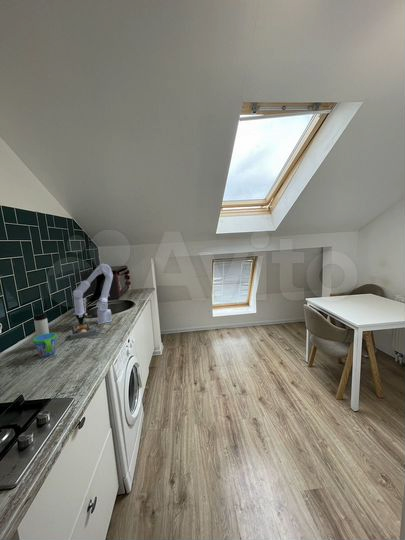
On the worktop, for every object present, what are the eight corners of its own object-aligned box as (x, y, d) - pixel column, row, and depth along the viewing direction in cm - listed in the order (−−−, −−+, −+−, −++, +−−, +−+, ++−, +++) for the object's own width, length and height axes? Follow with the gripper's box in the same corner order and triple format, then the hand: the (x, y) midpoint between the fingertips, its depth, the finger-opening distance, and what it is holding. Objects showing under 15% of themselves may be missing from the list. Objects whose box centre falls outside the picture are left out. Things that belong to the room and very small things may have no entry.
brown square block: (86, 328, 159) (86, 324, 159) (87, 331, 154) (87, 326, 154) (77, 330, 156) (76, 326, 156) (77, 333, 151) (77, 328, 151)
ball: (87, 336, 149) (86, 330, 151) (87, 332, 146) (86, 327, 149) (80, 337, 147) (79, 332, 149) (80, 334, 144) (79, 329, 147)
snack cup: (34, 352, 127) (32, 335, 126) (56, 346, 134) (54, 329, 132) (36, 363, 115) (33, 344, 114) (60, 356, 122) (58, 338, 120)
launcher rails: (88, 324, 168) (88, 322, 168) (90, 329, 157) (90, 328, 157) (73, 327, 163) (73, 325, 163) (74, 333, 152) (74, 331, 152)
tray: (94, 329, 157) (94, 325, 156) (96, 334, 149) (95, 330, 149) (70, 335, 149) (70, 330, 149) (71, 340, 141) (70, 335, 141)
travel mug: (44, 348, 132) (40, 315, 129) (35, 347, 133) (30, 314, 130) (53, 343, 138) (49, 311, 135) (44, 342, 139) (40, 311, 136)
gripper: (72, 304, 166) (74, 322, 168) (73, 309, 154) (75, 328, 156) (83, 303, 170) (85, 320, 172) (84, 307, 157) (86, 326, 159)
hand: (81, 324), depth 164 cm, fingers closed
